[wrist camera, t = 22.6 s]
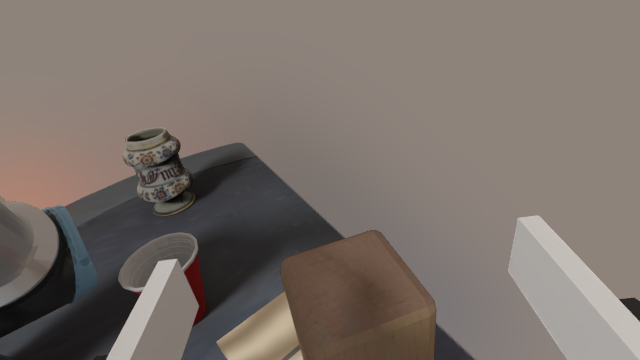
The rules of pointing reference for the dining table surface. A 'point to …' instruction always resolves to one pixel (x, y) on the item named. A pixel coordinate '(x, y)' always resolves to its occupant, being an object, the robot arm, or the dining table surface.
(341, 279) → the wooden block
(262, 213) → the dining table surface
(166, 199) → the apothecary jar
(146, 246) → the plastic cup
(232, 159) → the dining table surface
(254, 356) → the board
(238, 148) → the dining table surface
